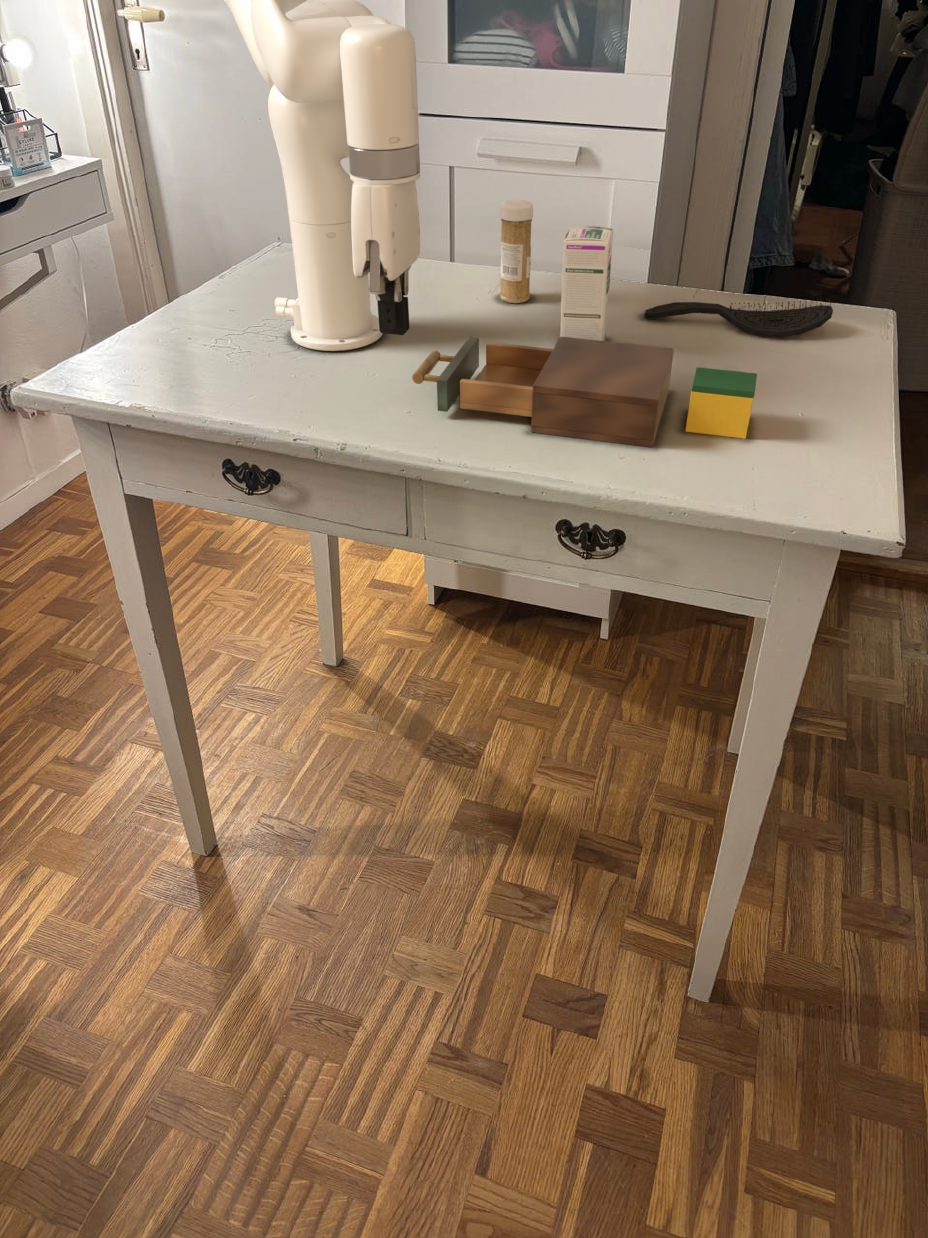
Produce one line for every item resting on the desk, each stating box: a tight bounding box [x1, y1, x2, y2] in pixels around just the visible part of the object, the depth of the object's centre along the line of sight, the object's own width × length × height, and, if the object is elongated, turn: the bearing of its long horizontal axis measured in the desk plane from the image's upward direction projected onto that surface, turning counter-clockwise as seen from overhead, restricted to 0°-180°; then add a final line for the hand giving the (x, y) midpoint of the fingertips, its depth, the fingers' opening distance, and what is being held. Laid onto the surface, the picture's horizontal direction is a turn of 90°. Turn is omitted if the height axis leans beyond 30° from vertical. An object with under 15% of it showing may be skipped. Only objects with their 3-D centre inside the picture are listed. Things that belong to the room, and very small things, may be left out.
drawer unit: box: [530, 336, 675, 448], centre depth 108 cm, size 14×15×6 cm
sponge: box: [685, 366, 758, 440], centre depth 105 cm, size 7×5×6 cm
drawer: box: [411, 335, 554, 418], centre depth 111 cm, size 17×13×4 cm
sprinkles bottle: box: [499, 199, 534, 304], centre depth 136 cm, size 5×5×14 cm
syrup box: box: [559, 225, 614, 341], centre depth 121 cm, size 6×6×14 cm
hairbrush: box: [643, 297, 834, 339], centre depth 130 cm, size 8×4×25 cm
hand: (394, 331), depth 111 cm, fingers closed
